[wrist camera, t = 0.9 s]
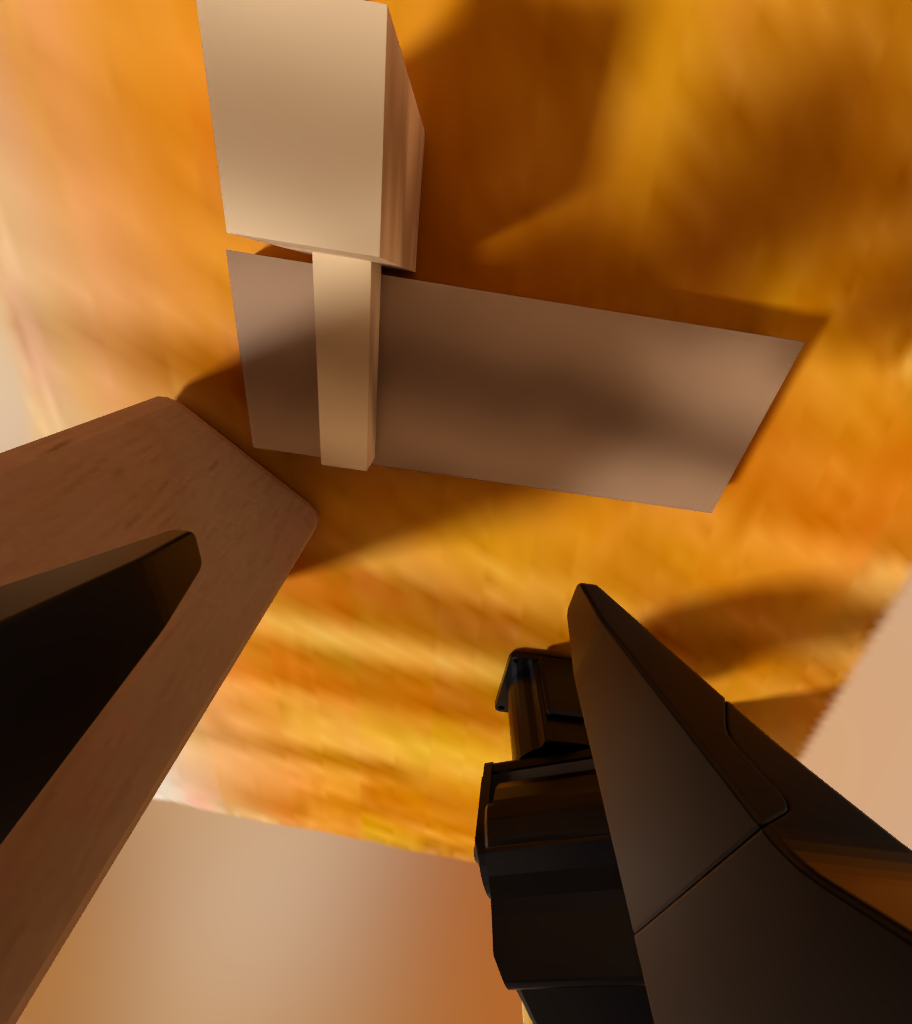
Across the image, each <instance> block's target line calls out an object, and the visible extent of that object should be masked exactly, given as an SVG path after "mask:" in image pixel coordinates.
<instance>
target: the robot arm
mask: <svg viewBox="0 0 912 1024" xmlns="http://www.w3.org/2000/svg"><path fill="white" fill-rule="evenodd" d="M201 565H202V559H201V555H200V551H199V547H198V543H197V539H196V536H195V535H194V533H192V532H190V531H183V530H170V531H167V532H163V533H160V534H157V535H154V536H151V537H148V538H145V539H142V540H139V541H136V542H133V543H130V544H127V545H124V546H121V547H118V548H115V549H112V550H109V551H106V552H103V553H100V554H97V555H93V556H90V557H87V558H84V559H81V560H78V561H75V562H72V563H69V564H66V565H63V566H60V567H57V568H54V569H51V570H48V571H45V572H42V573H39V574H36V575H33V576H30V577H27V578H24V579H20V580H17V581H14V582H11V583H8V584H5V585H2V586H0V845H1V844H2V843H3V841H4V840H5V839H6V837H7V836H8V835H9V833H10V832H11V831H12V829H13V828H14V827H15V826H16V824H17V823H18V822H19V820H20V819H21V818H22V816H23V815H24V814H25V812H26V811H27V810H28V808H29V807H30V806H31V804H32V803H33V802H34V800H35V799H36V798H37V796H38V795H39V794H40V792H41V791H42V790H43V788H44V787H45V786H46V785H47V783H48V782H49V781H50V779H51V778H52V777H53V775H54V774H55V773H56V771H57V770H58V769H59V767H60V766H61V765H62V763H63V762H64V761H65V759H66V758H67V757H68V755H69V754H70V753H71V751H72V750H73V749H74V747H75V746H76V745H77V744H78V742H79V741H80V740H81V738H82V737H83V736H84V734H85V733H86V732H87V730H88V729H89V728H90V726H91V725H92V724H93V722H94V721H95V720H96V718H97V717H98V716H99V714H100V713H101V712H102V710H103V709H104V708H105V706H106V705H107V704H108V703H109V701H110V700H111V699H112V697H113V696H114V695H115V693H116V692H117V691H118V689H119V688H120V687H121V685H122V684H123V683H124V681H125V680H126V679H127V677H128V676H129V675H130V673H131V672H132V671H133V669H134V668H135V667H136V665H137V664H138V663H139V662H140V660H141V659H142V658H143V656H144V655H145V654H146V652H147V651H148V650H149V648H150V647H151V646H152V644H153V643H154V642H155V640H156V639H157V638H158V636H159V635H160V634H161V632H162V631H163V629H164V628H165V627H166V625H167V623H168V622H169V620H170V619H171V617H172V616H173V614H174V612H175V611H176V609H177V607H178V606H179V604H180V602H181V601H182V599H183V598H184V596H185V594H186V593H187V591H188V589H189V588H190V586H191V584H192V583H193V581H194V579H195V578H196V576H197V574H198V573H199V571H200V569H201ZM567 619H568V628H569V636H570V645H571V654H572V659H569V658H561V657H554V656H546V655H538V654H531V653H523V652H512V653H511V654H510V655H509V658H508V661H507V664H506V668H505V671H504V674H503V678H502V681H501V684H500V687H499V691H498V694H497V697H496V701H495V709H496V710H498V711H501V712H509V725H510V737H511V749H512V761H506V762H500V763H493V762H490V763H485V764H484V773H483V777H482V781H481V790H480V799H479V808H478V817H477V826H476V836H475V847H474V858H475V861H476V862H477V863H478V865H479V867H480V872H481V877H482V881H483V885H484V888H485V891H486V893H487V895H488V897H489V898H490V899H491V910H492V933H493V952H494V958H495V960H496V963H497V966H498V968H499V971H500V974H501V976H502V979H503V981H504V984H505V986H506V987H507V989H508V990H517V992H518V994H519V996H520V998H521V1000H522V1002H523V1004H524V1006H525V1009H526V1011H527V1013H528V1015H529V1017H530V1019H531V1021H532V1023H533V1024H912V850H910V849H909V848H908V847H906V846H905V845H904V844H902V843H901V842H900V841H898V840H897V839H896V838H894V837H893V836H892V835H891V834H890V833H888V832H887V831H886V830H885V829H883V828H882V827H880V825H878V824H877V823H876V822H875V821H873V820H872V819H870V818H869V817H868V816H867V815H866V814H864V813H863V812H862V811H861V810H859V809H858V808H857V807H856V806H854V805H853V804H852V803H851V802H849V801H848V800H847V799H845V798H844V797H843V796H842V795H840V794H839V793H838V792H837V791H835V790H834V789H833V788H832V787H830V786H829V785H828V784H827V783H825V782H824V781H823V780H822V779H820V778H819V777H818V776H817V775H815V774H814V773H813V772H811V771H810V770H809V769H808V768H807V767H805V766H804V765H803V764H802V763H800V762H799V761H798V760H797V759H795V758H794V757H793V756H792V755H791V754H789V753H788V752H787V751H786V750H784V749H783V748H782V747H781V746H779V745H778V744H777V743H776V742H775V741H773V740H772V739H771V738H770V737H769V736H768V735H766V734H765V733H764V732H763V731H762V730H761V729H759V728H758V727H757V726H756V725H755V724H754V723H752V722H751V721H750V720H749V719H748V718H747V717H745V716H744V715H743V714H742V713H741V712H740V711H739V710H738V709H736V708H735V707H734V706H733V705H732V704H731V703H730V702H728V701H726V702H725V698H724V697H723V696H722V695H720V694H719V693H718V692H717V691H716V690H715V689H714V688H713V687H711V686H710V685H709V684H708V683H707V682H706V681H705V680H704V679H702V678H701V677H700V676H699V675H698V674H697V673H696V672H694V671H693V670H692V669H691V668H690V667H689V666H688V665H687V664H685V663H684V662H683V661H682V660H681V659H680V658H679V657H677V656H676V655H675V654H674V653H673V652H672V651H671V650H670V649H668V648H667V647H666V646H665V645H664V644H663V643H662V642H661V641H659V640H658V639H657V638H656V637H655V636H654V635H653V634H651V633H650V632H649V631H648V630H647V629H646V628H645V627H644V626H642V625H641V624H640V623H639V622H638V621H637V620H636V619H635V618H633V617H632V616H631V615H630V614H629V613H628V612H627V611H625V610H624V609H623V608H622V607H621V606H620V605H619V604H618V603H616V602H615V601H614V600H613V599H612V598H611V597H610V596H608V595H607V594H606V593H605V592H604V591H603V590H602V589H601V588H599V587H598V586H597V585H594V584H586V583H580V584H578V585H577V587H576V589H575V592H574V594H573V597H572V600H571V602H570V605H569V608H568V613H567Z"/></svg>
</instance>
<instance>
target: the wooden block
mask: <svg viewBox="0 0 912 1024" xmlns="http://www.w3.org/2000/svg"><path fill="white" fill-rule="evenodd" d="M318 520H319V515H318V513H317V512H316V510H315V509H314V507H313V506H312V505H311V504H309V503H308V502H307V501H306V500H304V499H303V498H302V497H300V496H299V495H298V494H297V493H295V492H294V491H293V490H292V489H290V488H289V487H288V486H286V485H285V484H284V483H283V482H281V481H280V480H279V479H277V478H276V477H275V476H274V475H272V474H271V473H270V472H269V471H267V470H266V469H265V468H263V467H262V466H261V465H260V464H258V463H257V462H256V461H254V460H253V459H252V458H251V457H249V456H248V455H247V454H245V453H244V452H243V451H242V450H240V449H239V448H238V447H237V446H235V445H234V444H233V443H231V442H230V441H229V440H228V439H226V438H225V437H224V436H222V435H221V434H220V433H219V432H217V431H216V430H215V429H214V428H212V427H211V426H210V425H208V424H207V423H206V422H205V421H203V420H202V419H201V418H199V417H198V416H197V415H196V414H194V413H193V412H192V411H191V410H189V409H188V408H187V407H185V406H184V405H183V404H182V403H179V402H177V401H175V400H173V399H170V398H168V397H159V396H158V397H155V398H152V399H150V400H147V401H144V402H141V403H139V404H136V405H133V406H130V407H127V408H125V409H122V410H119V411H116V412H114V413H111V414H108V415H105V416H102V417H100V418H97V419H94V420H91V421H89V422H86V423H83V424H80V425H77V426H75V427H72V428H69V429H66V430H64V431H61V432H58V433H55V434H52V435H50V436H47V437H44V438H41V439H39V440H36V441H33V442H30V443H27V444H25V445H22V446H19V447H16V448H14V449H11V450H8V451H5V452H2V453H0V586H2V585H5V584H8V583H11V582H14V581H17V580H20V579H24V578H27V577H30V576H33V575H36V574H39V573H42V572H45V571H48V570H51V569H54V568H57V567H60V566H63V565H66V564H69V563H72V562H75V561H78V560H81V559H84V558H87V557H90V556H93V555H97V554H100V553H103V552H106V551H109V550H112V549H115V548H118V547H121V546H124V545H127V544H130V543H133V542H136V541H139V540H142V539H145V538H148V537H151V536H154V535H157V534H160V533H163V532H167V531H170V530H183V531H190V532H192V533H194V535H195V536H196V539H197V543H198V547H199V551H200V555H201V559H202V565H201V569H200V571H199V573H198V574H197V576H196V578H195V579H194V581H193V583H192V584H191V586H190V588H189V589H188V591H187V593H186V594H185V596H184V598H183V599H182V601H181V602H180V604H179V606H178V607H177V609H176V611H175V612H174V614H173V616H172V617H171V619H170V620H169V622H168V623H167V625H166V627H165V628H164V629H163V631H162V632H161V634H160V635H159V636H158V638H157V639H156V640H155V642H154V643H153V644H152V646H151V647H150V648H149V650H148V651H147V652H146V654H145V655H144V656H143V658H142V659H141V660H140V662H139V663H138V664H137V665H136V667H135V668H134V669H133V671H132V672H131V673H130V675H129V676H128V677H127V679H126V680H125V681H124V683H123V684H122V685H121V687H120V688H119V689H118V691H117V692H116V693H115V695H114V696H113V697H112V699H111V700H110V701H109V703H108V704H107V705H106V706H105V708H104V709H103V710H102V712H101V713H100V714H99V716H98V717H97V718H96V720H95V721H94V722H93V724H92V725H91V726H90V728H89V729H88V730H87V732H86V733H85V734H84V736H83V737H82V738H81V740H80V741H79V742H78V744H77V745H76V746H75V747H74V749H73V750H72V751H71V753H70V754H69V755H68V757H67V758H66V759H65V761H64V762H63V763H62V765H61V766H60V767H59V769H58V770H57V771H56V773H55V774H54V775H53V777H52V778H51V779H50V781H49V782H48V783H47V785H46V786H45V787H44V788H43V790H42V791H41V792H40V794H39V795H38V796H37V798H36V799H35V800H34V802H33V803H32V804H31V806H30V807H29V808H28V810H27V811H26V812H25V814H24V815H23V816H22V818H21V819H20V820H19V822H18V823H17V824H16V826H15V827H14V828H13V829H12V831H11V832H10V833H9V835H8V836H7V837H6V839H5V840H4V841H3V843H2V844H1V845H0V1024H16V1022H17V1020H18V1019H19V1017H20V1016H21V1014H22V1012H23V1011H24V1009H25V1007H26V1006H27V1004H28V1002H29V1000H30V999H31V997H32V996H33V994H34V992H35V991H36V989H37V988H38V986H39V984H40V983H41V981H42V979H43V978H44V976H45V974H46V973H47V971H48V969H49V968H50V966H51V965H52V963H53V961H54V960H55V958H56V956H57V955H58V953H59V951H60V950H61V948H62V946H63V945H64V943H65V941H66V939H67V938H68V937H69V935H70V933H71V932H72V930H73V928H74V927H75V925H76V923H77V922H78V920H79V918H80V917H81V915H82V913H83V912H84V910H85V909H86V907H87V905H88V904H89V902H90V900H91V899H92V897H93V895H94V894H95V892H96V890H97V889H98V887H99V885H100V884H101V882H102V880H103V879H104V877H105V876H106V874H107V872H108V871H109V869H110V867H111V866H112V864H113V862H114V861H115V859H116V858H117V856H118V854H119V853H120V851H121V849H122V848H123V846H124V844H125V843H126V841H127V839H128V838H129V836H130V835H131V833H132V831H133V829H134V828H135V826H136V825H137V823H138V821H139V820H140V818H141V816H142V815H143V813H144V811H145V810H146V808H147V806H148V805H149V803H150V802H151V800H152V798H153V797H154V795H155V793H156V792H157V790H158V788H159V787H160V785H161V783H162V782H163V780H164V779H165V777H166V775H167V774H168V772H169V770H170V769H171V767H172V765H173V764H174V762H175V760H176V759H177V757H178V756H179V754H180V752H181V751H182V749H183V747H184V746H185V744H186V742H187V741H188V739H189V737H190V736H191V734H192V732H193V731H194V729H195V728H196V726H197V724H198V723H199V721H200V719H201V718H202V716H203V714H204V713H205V711H206V709H207V708H208V706H209V704H210V703H211V701H212V700H213V698H214V696H215V695H216V693H217V691H218V690H219V688H220V686H221V685H222V683H223V681H224V680H225V678H226V677H227V675H228V673H229V672H230V670H231V668H232V667H233V665H234V663H235V662H236V660H237V658H238V657H239V655H240V653H241V652H242V650H243V649H244V647H245V645H246V644H247V642H248V640H249V639H250V637H251V635H252V634H253V632H254V630H255V629H256V627H257V625H258V624H259V622H260V621H261V619H262V617H263V616H264V614H265V612H266V611H267V609H268V607H269V606H270V604H271V602H272V601H273V599H274V598H275V596H276V594H277V593H278V591H279V589H280V588H281V586H282V584H283V583H284V581H285V579H286V578H287V576H288V574H289V573H290V571H291V570H292V568H293V566H294V565H295V563H296V561H297V560H298V558H299V556H300V555H301V553H302V551H303V550H304V548H305V547H306V545H307V543H308V542H309V540H310V538H311V537H312V535H313V533H314V532H315V530H316V527H317V523H318Z"/></svg>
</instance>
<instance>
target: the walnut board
mask: <svg viewBox="0 0 912 1024" xmlns="http://www.w3.org/2000/svg"><path fill="white" fill-rule="evenodd" d="M226 253H227V260H228V268H229V275H230V282H231V290H232V297H233V305H234V312H235V319H236V327H237V334H238V341H239V349H240V356H241V364H242V371H243V378H244V386H245V393H246V401H247V408H248V415H249V423H250V430H251V437H252V445H253V448H260V449H267V450H274V451H281V452H288V453H295V454H302V455H309V456H316V457H321V449H320V425H319V402H318V378H317V354H316V331H315V307H314V284H313V264H312V263H306V262H300V261H293V260H287V259H281V258H275V257H268V256H262V255H256V254H249V253H243V252H237V251H231V250H226ZM804 343H805V342H803V341H796V340H790V339H784V338H777V337H771V336H765V335H759V334H752V333H746V332H740V331H733V330H727V329H721V328H715V327H708V326H702V325H696V324H689V323H683V322H677V321H671V320H664V319H658V318H652V317H645V316H639V315H633V314H627V313H620V312H614V311H608V310H601V309H595V308H589V307H583V306H576V305H570V304H564V303H557V302H551V301H545V300H539V299H532V298H526V297H520V296H513V295H507V294H501V293H495V292H488V291H482V290H476V289H469V288H463V287H457V286H451V285H444V284H438V283H432V282H425V281H419V280H413V279H407V278H400V277H394V276H388V275H381V288H380V318H379V348H378V378H377V409H376V439H375V458H374V460H373V462H372V463H371V464H372V465H379V466H386V467H393V468H400V469H407V470H414V471H421V472H428V473H435V474H442V475H449V476H456V477H463V478H470V479H477V480H484V481H491V482H498V483H505V484H512V485H519V486H525V487H532V488H539V489H546V490H553V491H560V492H567V493H574V494H581V495H588V496H595V497H602V498H609V499H616V500H623V501H630V502H637V503H644V504H651V505H658V506H665V507H672V508H679V509H686V510H693V511H700V512H707V513H712V511H713V510H714V508H715V506H716V504H717V502H718V500H719V499H720V497H721V495H722V493H723V491H724V489H725V488H726V486H727V484H728V482H729V480H730V478H731V477H732V475H733V473H734V471H735V469H736V467H737V466H738V464H739V462H740V460H741V458H742V456H743V455H744V453H745V451H746V449H747V447H748V445H749V444H750V442H751V440H752V438H753V436H754V434H755V433H756V431H757V429H758V427H759V425H760V424H761V422H762V420H763V418H764V416H765V414H766V413H767V411H768V409H769V407H770V405H771V403H772V402H773V400H774V398H775V396H776V394H777V392H778V391H779V389H780V387H781V385H782V383H783V381H784V380H785V378H786V376H787V374H788V372H789V370H790V369H791V367H792V365H793V363H794V361H795V359H796V358H797V356H798V354H799V352H800V350H801V348H802V347H803V345H804Z"/></svg>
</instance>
